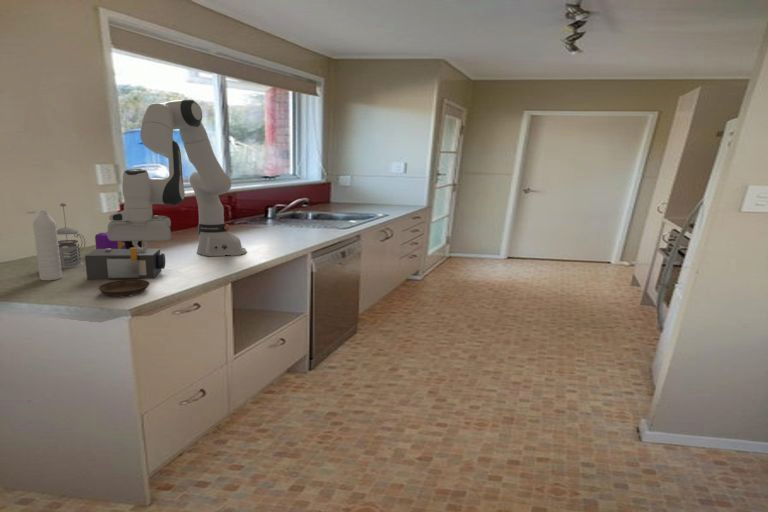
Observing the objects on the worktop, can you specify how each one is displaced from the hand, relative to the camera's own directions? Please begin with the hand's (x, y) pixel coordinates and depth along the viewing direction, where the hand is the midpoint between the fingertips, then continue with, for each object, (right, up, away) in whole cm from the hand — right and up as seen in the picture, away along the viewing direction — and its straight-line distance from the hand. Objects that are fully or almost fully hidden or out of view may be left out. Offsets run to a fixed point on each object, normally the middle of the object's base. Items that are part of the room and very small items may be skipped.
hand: (141, 252), depth 160 cm
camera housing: (-10, -8, +7) cm, 15 cm away
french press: (-38, -5, +18) cm, 43 cm away
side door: (-7, -9, +1) cm, 11 cm away
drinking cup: (-18, -4, +27) cm, 33 cm away
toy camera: (-35, 0, +41) cm, 54 cm away
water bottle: (-32, -10, -2) cm, 34 cm away
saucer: (+1, -14, -12) cm, 18 cm away
